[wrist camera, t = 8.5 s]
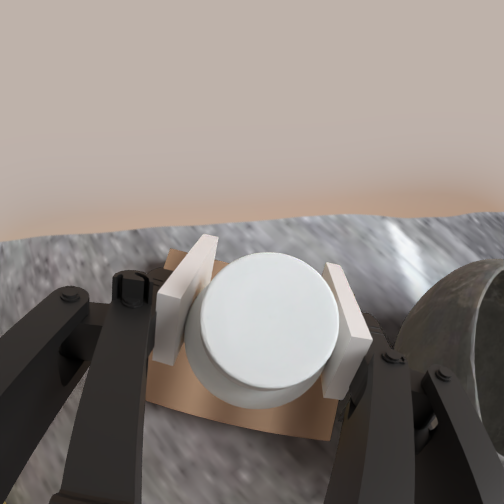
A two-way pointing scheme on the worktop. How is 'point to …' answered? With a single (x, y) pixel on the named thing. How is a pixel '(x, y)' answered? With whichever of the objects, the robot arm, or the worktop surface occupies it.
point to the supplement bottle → (262, 330)
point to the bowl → (464, 338)
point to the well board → (210, 407)
